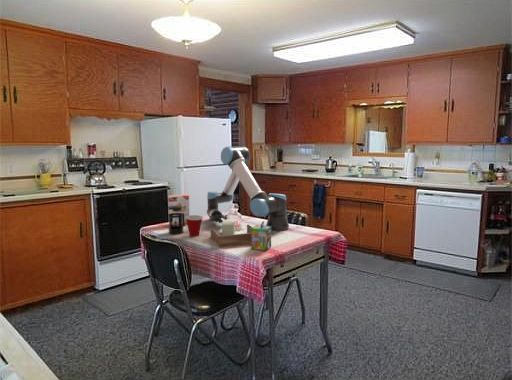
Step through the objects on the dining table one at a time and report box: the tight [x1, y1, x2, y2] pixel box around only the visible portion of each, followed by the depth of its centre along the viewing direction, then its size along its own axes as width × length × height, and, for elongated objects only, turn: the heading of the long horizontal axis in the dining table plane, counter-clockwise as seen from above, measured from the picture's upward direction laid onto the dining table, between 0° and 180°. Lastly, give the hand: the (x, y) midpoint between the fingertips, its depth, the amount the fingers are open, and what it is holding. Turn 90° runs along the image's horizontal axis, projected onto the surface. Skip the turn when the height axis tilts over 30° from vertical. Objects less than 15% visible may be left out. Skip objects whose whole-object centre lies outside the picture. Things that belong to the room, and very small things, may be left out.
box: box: [210, 224, 254, 248], centre depth 215 cm, size 22×24×6 cm
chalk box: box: [251, 220, 272, 252], centre depth 198 cm, size 9×9×15 cm
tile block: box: [221, 219, 235, 236], centre depth 228 cm, size 14×7×8 cm, turn 2°
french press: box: [167, 197, 186, 236], centre depth 233 cm, size 12×9×23 cm
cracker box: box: [167, 194, 190, 226], centre depth 254 cm, size 14×6×21 cm, turn 104°
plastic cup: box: [185, 214, 204, 238], centre depth 225 cm, size 11×11×12 cm
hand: (224, 222), depth 235 cm, fingers closed
